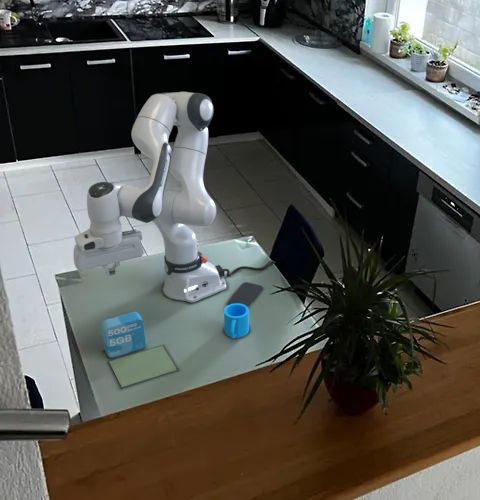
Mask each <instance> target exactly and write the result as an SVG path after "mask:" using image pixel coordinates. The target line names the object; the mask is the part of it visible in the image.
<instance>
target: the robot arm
mask: <svg viewBox="0 0 480 500" xmlns="http://www.w3.org/2000/svg"><path fill="white" fill-rule="evenodd" d="M214 109H215V108H214V104H213V102H212V99H211V97H210V96H208V95H206V94H204V93H200V92H188V91H179V92H176V91H175V92H167V91H166V92H161V93H155V94H152V95H150V97H149V98H148V99H147V100H146V102H145V103H144V104H143V106H142V108H141V109H140V111H139V113H138V114H137V117H136V119H135V122H134V123H133V125H132V129H131V132H130V133H131V139H132V142H133V144H134V145H135V147H136V148H137V149H138V150H139V151H140V152H141V153H142V154H143V155H145V156H146V157H148V158H149V159H151V160H152V167H151V171H150V176H149V179H148V183H147V185H146V186H144V187H140V186H136V185H132V184H128V183H124V182H117V181H112V182H110V181H109V182H108V181H99V182H96V183H94V184H92V185H91V186H90V187H89V188H88V190H87V193H86V208H87V209H86V210H87V214H88V215H87V216H88V219H89V221H90V223H89V228H88V229H87V230H84V231H82V232H81V233H79V234H76V235H75V236H74V241H75V245H74V247H73V264H74V267H75V268H76V270H78V271H80V272H81V271H85V270H90V269H94V268H99V267H102V269H103V270H104V271H105V274H106V276H107V277H109V276H114V275H117V274H118V271H117V270H118V269H119V267H120V265H121V264H120V263H121V262H125V261H129V260H134V259H139V258H142V257H143V256H144V254H145V253H144V252H145V251H144V246H143V243H142V240H143V233H142V231H141V230H137V229H136V228H135V229H131V230H125V231H123V228H122V227H123V226H122V223H121V220H120V218H121V217H124V218H125V217H126V218H130V219H134V220H136V221H139V222H142V223H145V224H148V223H153V224H154V225H155V226H156V228H157V229H158V231H159V233H160V234H161V237H162V241H163V246H164V257H163V258H164V259H163V265H164V271H165V276H164V277H165V278H164V284H163V287H162V293H163V294H164V295H165V296H166V297H168V298H169V299H172V300H176V301H184V302H187V303H190V304H191V303H196V302H198V301H201V300H202V299H203V300H204V299H205V298H208V297H210V296H212V295H215V294H217V293H219V292H222V291H225V290H226V289H227V281H226V279H225V278H224V277H225V275H226V276H227V277H231V276H232V275H234V274H235V273H237V272H238V271H239V270H244V269H246V270H252V271H262V270H263V271H264V270H265V269H267V267H268V266H270V265H271V264H276V261H274V260H269V261H268V262H267V263H266V264H265V265H264V266H262V267H252V266H246V265H244V266H238V267H237V268H235V269H234V270H233V271H232V272H231V271H230V270H229V268H223V267H222V266H221V265H220V264H218V265H214V264H213V263H212V262H210V261H208V258H207V257H206V256H205V255H204V254H203V253H202V252H200V251H199V250H198V238H197V235H196V233H195V232H194V230H192V229H191V228H190V227H209V225H211V224H212V223H213V222H214V220H215V219H216V216H217V205H216V203H215V201H214V199H213V198H211V196H210V195H209V193H208V191H207V189H206V187H205V184H204V183H205V182H204V170H205V163H206V158H207V153H208V146H209V145H208V144H209V128H208V127H209V125H210V123H211V121H212V120H213V116H214V111H215V110H214ZM174 126H176V127H177V133H176V137H175V141H174V144H173V149H172V146H171V145H170V144H169V137H170V135H171V132H172V130H173V128H174ZM169 172H170V174H171V176H173V177H174V178H175V179H176V180H177V181H179V182H180V183H181V190H175V189H169V188H166V187H167V182H168V178H169ZM189 226H190V227H189ZM111 264H113V266H112V267H108V265H111ZM225 272H226V274H225Z"/></svg>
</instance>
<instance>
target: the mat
mask: <svg viewBox="0 0 480 500" xmlns="http://www.w3.org/2000/svg"><path fill="white" fill-rule="evenodd" d="M108 364H109V365H110V367H111V369H112V371H113V373H114V375H115V378H116V379H117V381H118V383H119V385H120V387H121V388H122V389H123V388H126V387H130V386H132V385H135V384H138V383H141V382H142V383H143V382H144V381H148V380H151V379H155V378H157V377H161V376H164V375H166V374H170V373H172V372H173V373H174V372H175V371H177V370H178V369H177V367H176V366H175V364H174V362H173V360H172V359H171V357H170V356H169V354H168V352H167V351H166V349H165V348H164V346H163V345H160V346H157V347H153V348H150V349H146V350H144V351H140V352H136V353H133V354H130V355H127V356H123V357H119V358H117V359H113V360H110V361H108Z"/></svg>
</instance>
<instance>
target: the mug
mask: <svg viewBox="0 0 480 500" xmlns="http://www.w3.org/2000/svg"><path fill="white" fill-rule="evenodd" d="M223 319H224V320H223V325H224V327H223V329H224V334H225V335H226V336H228V337H230V339H232V340H235V339H236V338H238V339H239V338H243V337H245V336H247V335H248V333H249V332H250V309H249V306H248V307H247V306H246V305H243V304H240V303H234V304H230V305H229V304H227V305H226V306H225V307H224V309H223Z"/></svg>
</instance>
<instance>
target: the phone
mask: <svg viewBox="0 0 480 500" xmlns="http://www.w3.org/2000/svg"><path fill="white" fill-rule="evenodd" d="M262 290H263V286H262V285H260V284H256V283H252V282H247V281H246V282H243V283H242V284H241V285H240V287H239V288H238V289H237V290H236V292H235V293H234V294H233V296H231V298H230V299H229V300H228V303H227V305H230V304H234V303H240V304H243V305H246V306H247V307H248V308H249V306H250V305H251V304H252V302H253V301H254V300H255V299H256V298H257V296H258V295H259V293H260V292H261V291H262Z"/></svg>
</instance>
